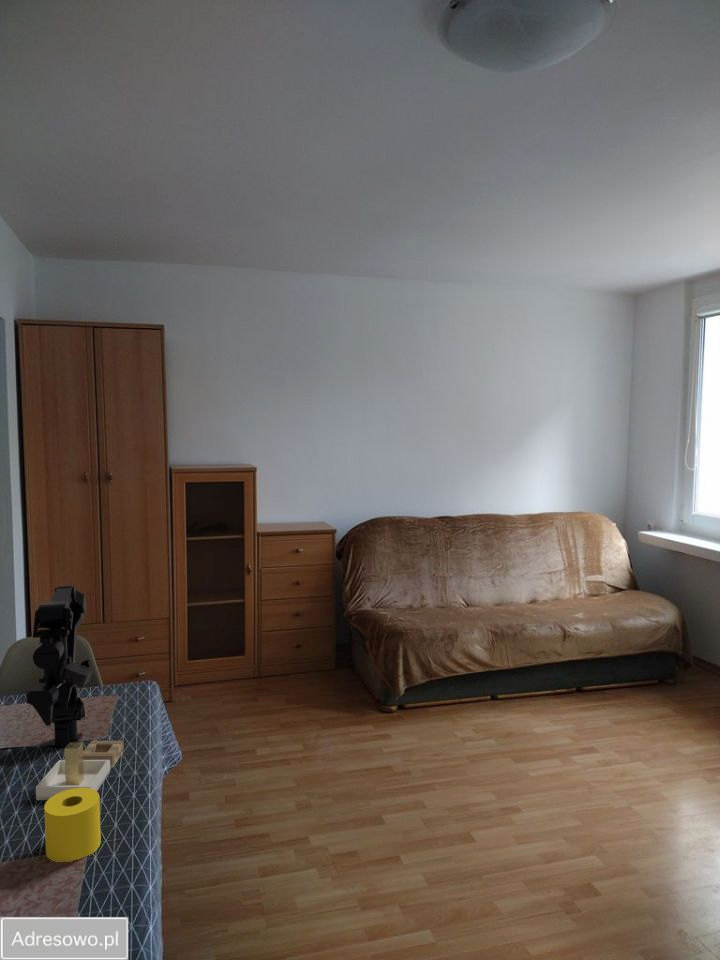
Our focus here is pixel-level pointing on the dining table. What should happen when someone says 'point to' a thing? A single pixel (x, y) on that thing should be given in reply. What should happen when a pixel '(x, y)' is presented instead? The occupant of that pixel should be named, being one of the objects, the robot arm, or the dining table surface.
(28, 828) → the dining table surface
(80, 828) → the yellow toilet paper roll
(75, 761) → the pin
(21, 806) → the dining table surface
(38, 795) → the tray
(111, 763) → the block
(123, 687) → the dining table surface
